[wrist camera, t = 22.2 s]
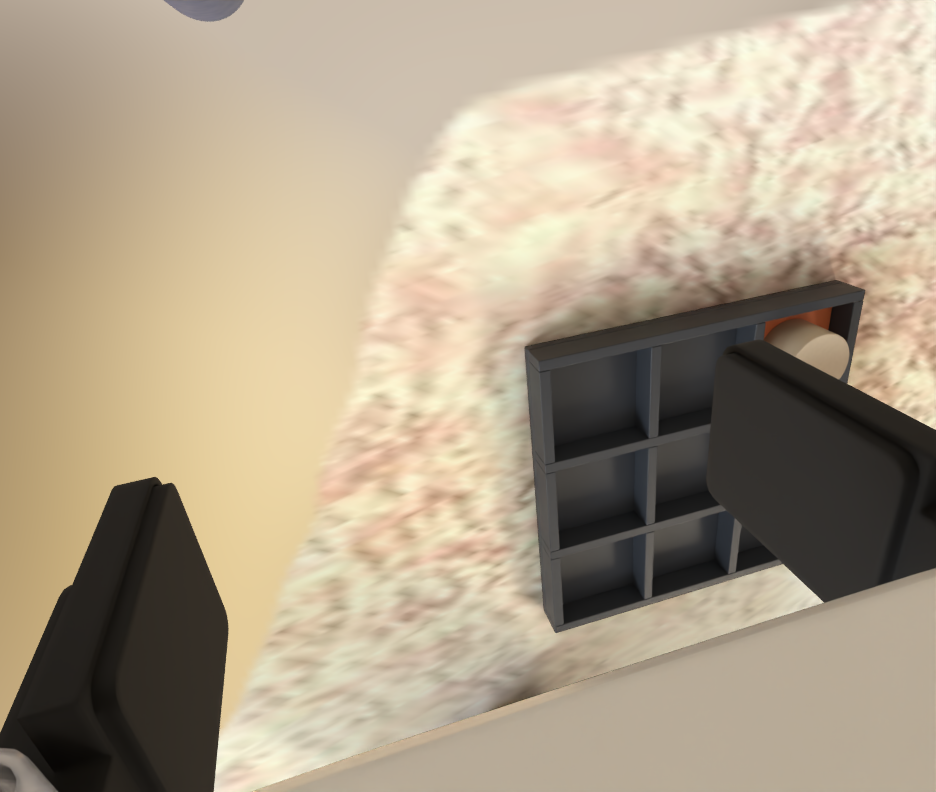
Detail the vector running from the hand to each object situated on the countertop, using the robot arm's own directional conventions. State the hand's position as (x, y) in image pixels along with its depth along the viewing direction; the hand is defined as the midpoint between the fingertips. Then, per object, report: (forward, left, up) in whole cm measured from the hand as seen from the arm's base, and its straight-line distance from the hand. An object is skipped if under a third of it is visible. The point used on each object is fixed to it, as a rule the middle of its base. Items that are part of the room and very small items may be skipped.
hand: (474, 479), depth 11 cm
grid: (+20, +20, -24) cm, 37 cm away
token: (+13, +27, -24) cm, 38 cm away
